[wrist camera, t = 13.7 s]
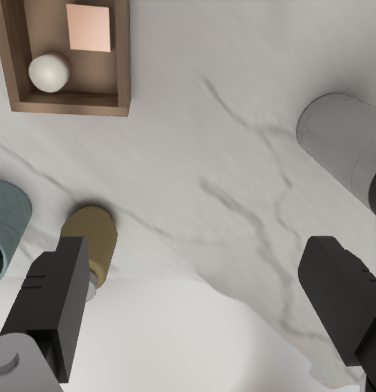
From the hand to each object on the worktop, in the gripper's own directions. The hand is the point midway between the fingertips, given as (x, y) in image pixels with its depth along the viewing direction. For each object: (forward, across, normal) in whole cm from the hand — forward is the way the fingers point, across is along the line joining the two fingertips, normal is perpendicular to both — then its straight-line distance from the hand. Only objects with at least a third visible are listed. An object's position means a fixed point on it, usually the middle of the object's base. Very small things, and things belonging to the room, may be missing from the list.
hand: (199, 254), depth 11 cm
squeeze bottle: (+33, +10, +22) cm, 41 cm away
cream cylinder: (+32, +12, 0) cm, 34 cm away
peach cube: (+32, +8, -5) cm, 33 cm away
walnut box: (+33, +10, -3) cm, 35 cm away
